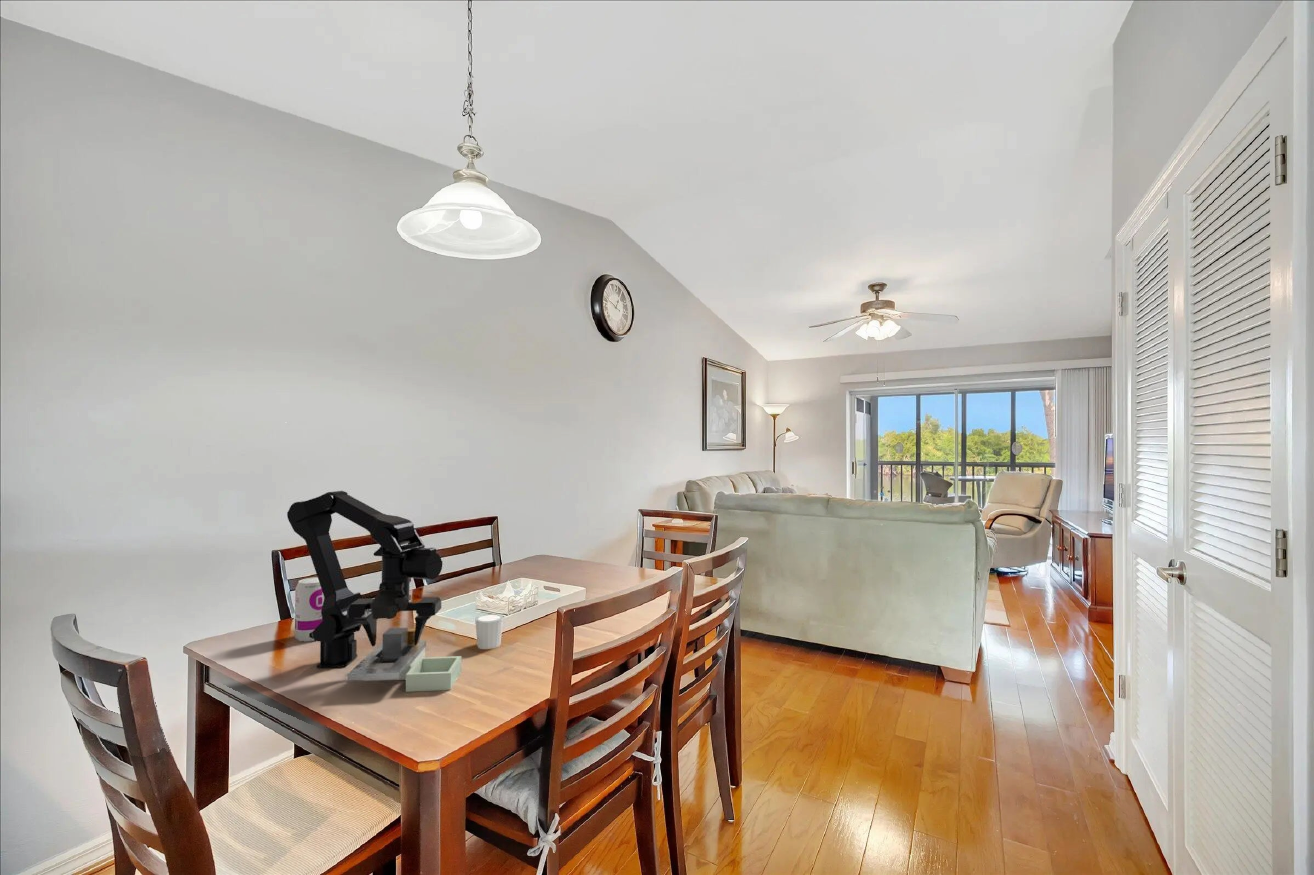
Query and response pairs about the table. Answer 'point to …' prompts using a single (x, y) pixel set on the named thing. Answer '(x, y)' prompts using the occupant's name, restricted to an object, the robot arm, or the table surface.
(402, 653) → the peg
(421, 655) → the socket block
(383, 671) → the plate
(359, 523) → the robot arm
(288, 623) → the table surface
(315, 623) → the supplement can
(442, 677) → the open box
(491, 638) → the white cup
